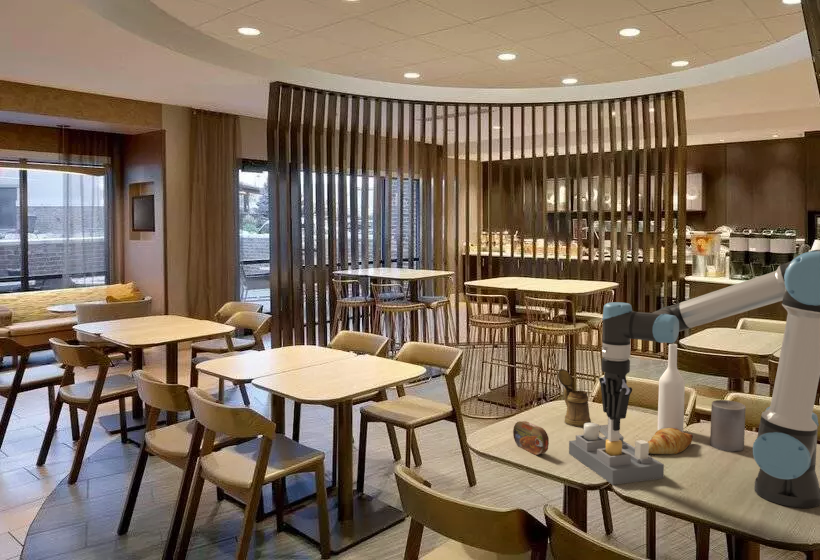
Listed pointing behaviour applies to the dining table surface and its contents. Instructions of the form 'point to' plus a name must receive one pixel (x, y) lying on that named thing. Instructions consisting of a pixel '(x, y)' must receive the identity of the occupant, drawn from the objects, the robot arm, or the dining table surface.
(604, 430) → the plate
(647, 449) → the slider knob
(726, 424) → the pillar candle
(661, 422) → the bottle
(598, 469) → the panel
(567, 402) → the wooden mug
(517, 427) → the tin
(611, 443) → the amber button
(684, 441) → the croissant
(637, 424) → the dining table surface
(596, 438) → the white button
